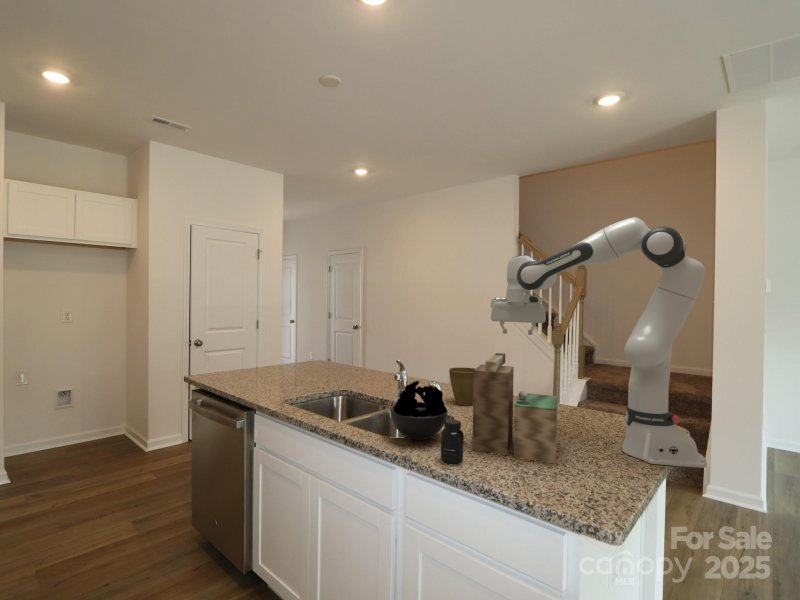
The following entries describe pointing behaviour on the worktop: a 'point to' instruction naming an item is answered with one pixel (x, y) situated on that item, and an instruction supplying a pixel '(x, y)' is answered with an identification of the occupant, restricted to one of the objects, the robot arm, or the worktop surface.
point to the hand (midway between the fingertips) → (517, 334)
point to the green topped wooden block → (535, 427)
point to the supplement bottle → (452, 442)
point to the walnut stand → (493, 410)
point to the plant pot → (462, 385)
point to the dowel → (494, 362)
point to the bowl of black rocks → (419, 412)
